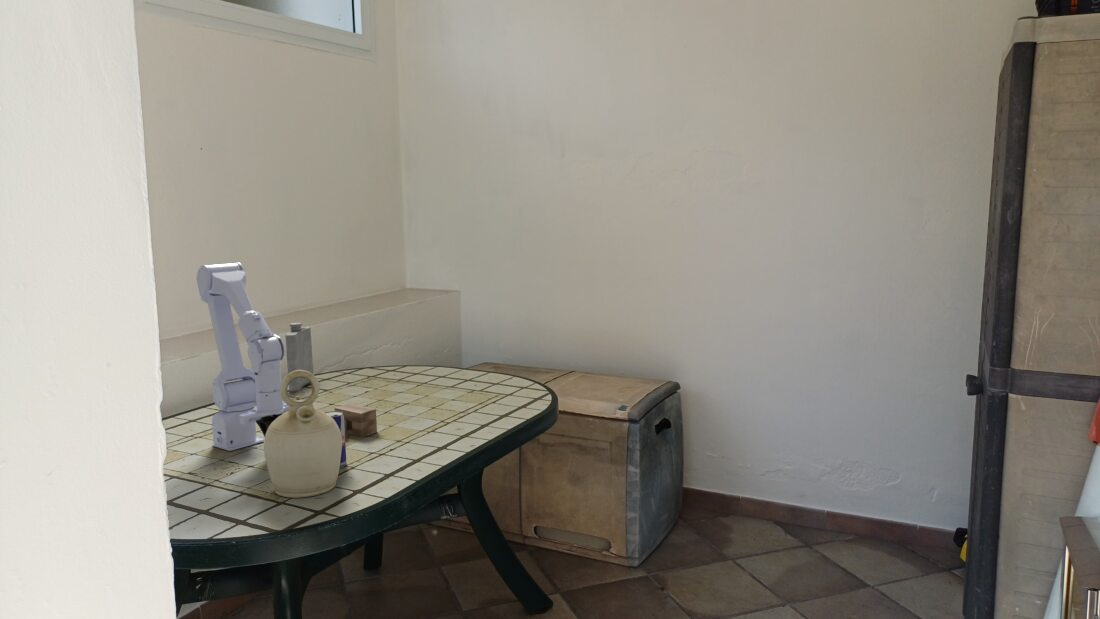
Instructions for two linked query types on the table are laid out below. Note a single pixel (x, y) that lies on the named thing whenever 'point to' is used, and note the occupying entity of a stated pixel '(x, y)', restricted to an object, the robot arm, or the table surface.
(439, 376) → the table surface
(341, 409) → the socket block
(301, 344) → the hip flask
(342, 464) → the energy drink
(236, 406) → the robot arm
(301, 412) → the jug
